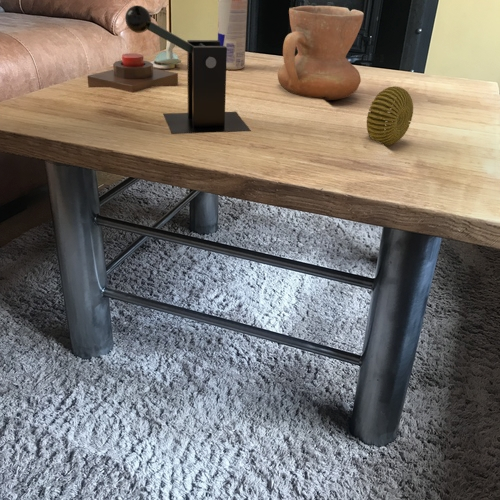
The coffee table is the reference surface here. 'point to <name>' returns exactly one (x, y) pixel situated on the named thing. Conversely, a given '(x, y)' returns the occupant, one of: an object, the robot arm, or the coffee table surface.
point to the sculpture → (390, 115)
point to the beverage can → (233, 31)
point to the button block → (133, 77)
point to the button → (132, 60)
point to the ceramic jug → (320, 52)
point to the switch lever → (152, 27)
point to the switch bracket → (206, 93)
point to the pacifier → (166, 58)
